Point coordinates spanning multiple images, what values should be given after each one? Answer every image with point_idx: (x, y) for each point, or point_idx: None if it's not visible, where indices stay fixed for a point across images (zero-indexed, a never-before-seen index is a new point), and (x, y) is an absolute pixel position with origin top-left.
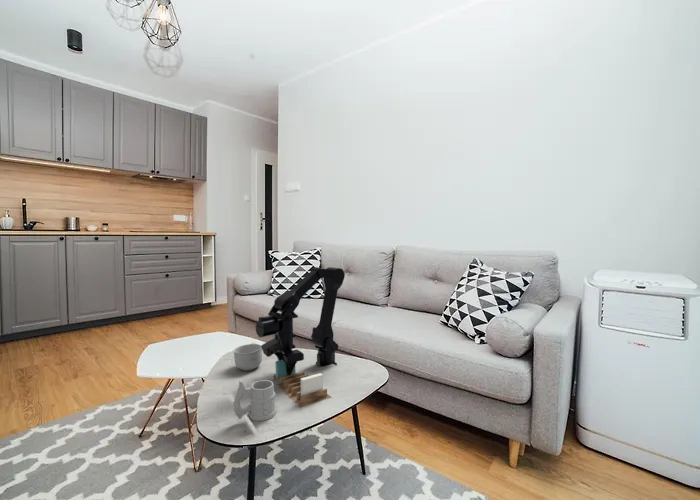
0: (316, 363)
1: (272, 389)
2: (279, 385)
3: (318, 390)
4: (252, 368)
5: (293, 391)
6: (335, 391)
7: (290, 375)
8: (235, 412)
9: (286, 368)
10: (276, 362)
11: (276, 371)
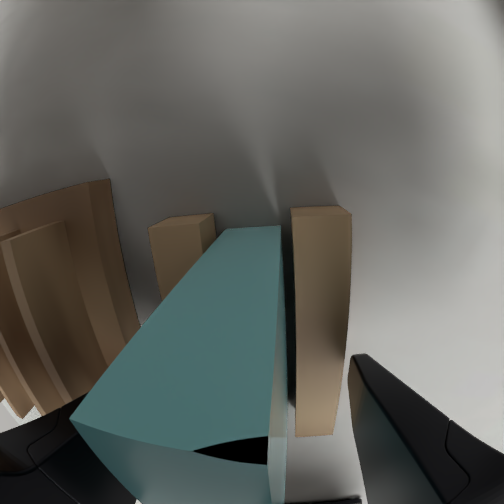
0: (352, 500)
1: None
2: (50, 206)
3: None
4: None
5: None
6: (36, 413)
7: (44, 359)
8: None
9: (73, 409)
10: (140, 433)
11: (233, 271)
